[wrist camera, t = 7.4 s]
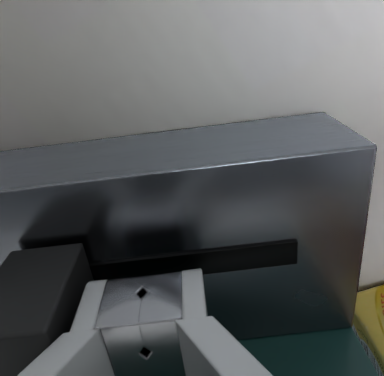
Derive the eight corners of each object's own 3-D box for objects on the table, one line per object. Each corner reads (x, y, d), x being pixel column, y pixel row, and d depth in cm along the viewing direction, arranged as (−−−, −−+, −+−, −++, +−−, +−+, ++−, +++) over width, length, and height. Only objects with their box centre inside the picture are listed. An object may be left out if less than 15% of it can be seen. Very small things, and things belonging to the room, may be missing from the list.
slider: (39, 319, 10) (-8, 423, 8) (10, 250, 9) (-58, 344, 7) (104, 311, 10) (79, 413, 8) (83, 241, 9) (44, 332, 7)
